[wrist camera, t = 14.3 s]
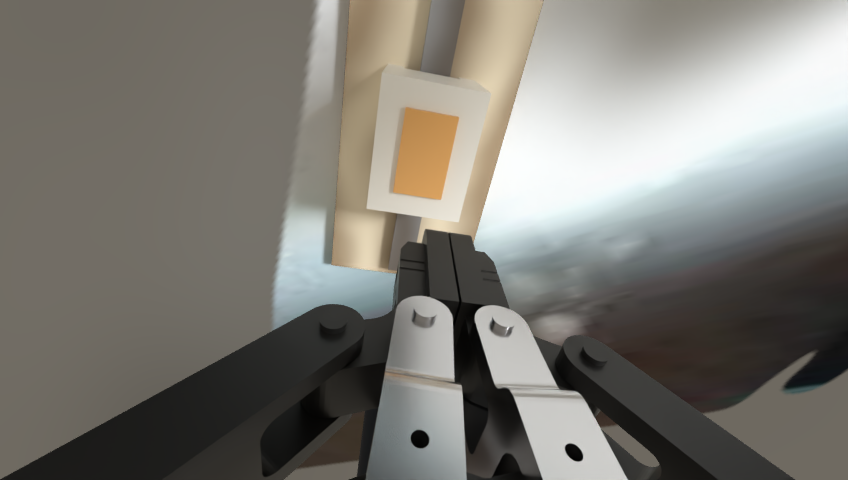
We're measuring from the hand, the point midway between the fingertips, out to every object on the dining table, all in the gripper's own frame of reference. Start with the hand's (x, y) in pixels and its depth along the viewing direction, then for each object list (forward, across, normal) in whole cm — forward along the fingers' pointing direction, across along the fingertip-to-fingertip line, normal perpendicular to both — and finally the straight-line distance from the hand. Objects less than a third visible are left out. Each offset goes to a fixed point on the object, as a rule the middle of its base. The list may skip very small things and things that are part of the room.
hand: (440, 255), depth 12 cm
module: (+17, 0, 0) cm, 17 cm away
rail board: (+18, 0, 0) cm, 18 cm away
